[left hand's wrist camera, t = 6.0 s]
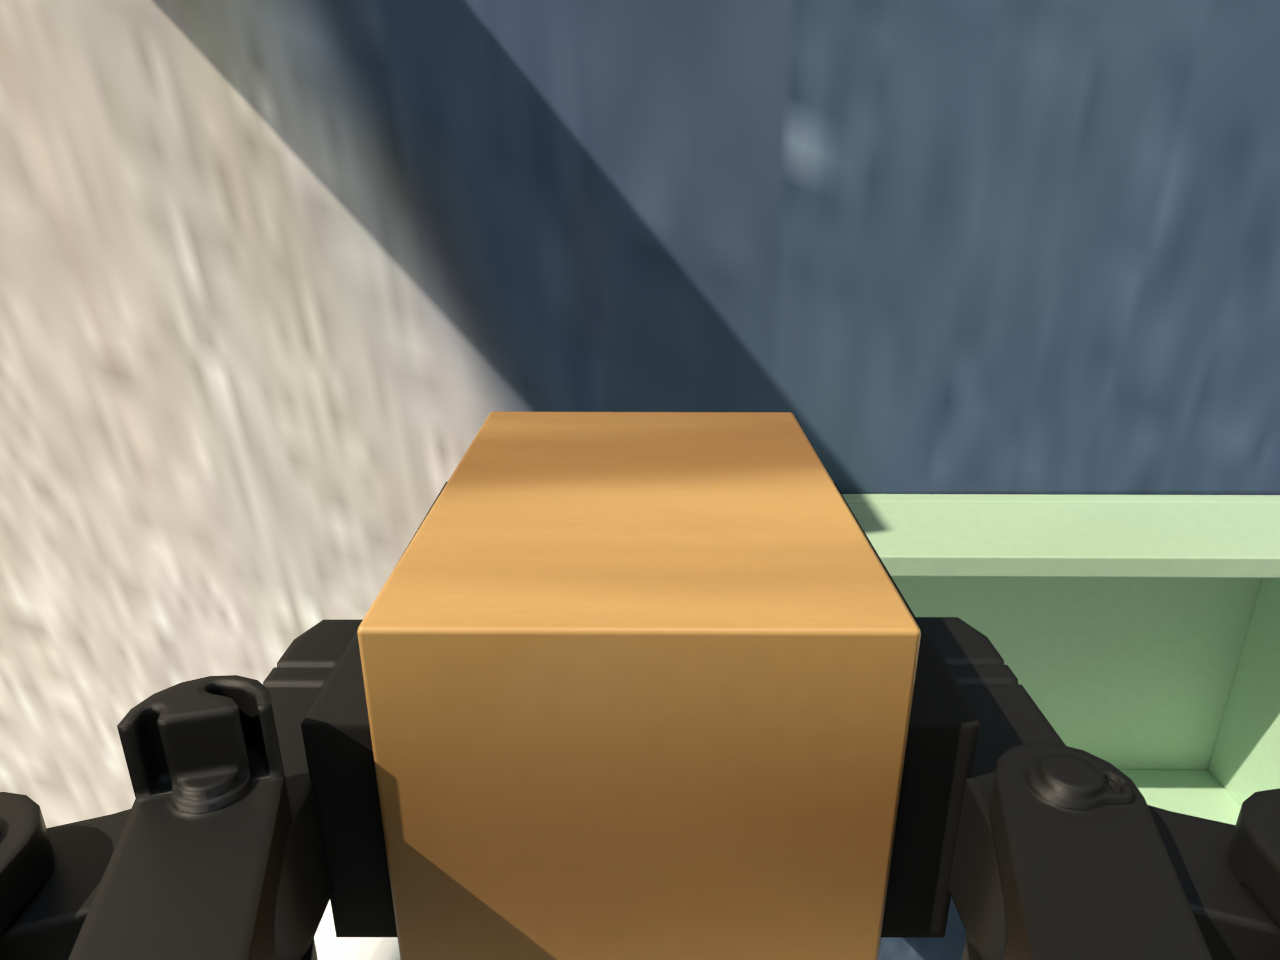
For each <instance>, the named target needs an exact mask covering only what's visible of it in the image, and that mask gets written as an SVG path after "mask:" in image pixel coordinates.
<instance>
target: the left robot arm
mask: <svg viewBox="0 0 1280 960" xmlns="http://www.w3.org/2000/svg"><path fill="white" fill-rule="evenodd" d="M446 484H447V482H446V483H445V485H444V487H445V486H446ZM834 484H835V482H834ZM835 486H836V487H837V485H836V484H835ZM444 487H443V488H442V490H443V489H444ZM837 489H838V487H837ZM442 490H441V492H442ZM838 491H839V493H840V494H841V492H840V490H839V489H838ZM441 492H440V493H439V495H440V494H441ZM439 495H438V497H439ZM841 496H842V498H843V499H844V497H843V495H842V494H841ZM438 497H437V498H436V500H437V499H438ZM436 500H435V502H436ZM844 501H845V503H846V504H847V502H846V500H845V499H844ZM435 502H434V503H433V505H434V504H435ZM433 505H432V507H433ZM847 506H848V508H849V510H850V511H851V513H852V515H853V516H854V518H855V520H856V521H857V523H858V525H859V527H860V528H861V530H862V532H863V533H864V535H865V537H866V538H867V540H868V542H869V543H870V545H871V547H872V549H873V550H874V552H875V554H876V555H877V557H878V559H879V560H880V562H881V564H882V566H883V567H884V569H885V571H886V572H887V574H888V576H889V577H890V579H891V581H892V582H893V584H894V586H895V588H896V589H897V591H898V593H899V594H900V596H901V598H902V599H903V601H904V603H905V605H906V606H907V608H908V610H909V611H910V613H911V615H912V616H913V618H914V620H915V621H916V623H917V625H918V627H919V628H920V631H921V638H920V646H919V653H918V661H917V668H916V676H915V683H914V691H913V698H912V706H911V714H910V721H909V729H908V736H907V744H906V751H905V759H904V766H903V774H902V781H901V789H900V796H899V804H898V812H897V819H896V827H895V834H894V842H893V849H892V857H891V864H890V872H889V879H888V887H887V895H886V902H885V910H884V917H883V925H882V932H881V937H944V936H945V930H946V924H947V918H948V912H949V906H950V900H951V896H952V899H953V901H954V904H955V906H956V908H957V911H958V913H959V915H960V918H961V920H962V923H963V925H964V927H965V930H966V932H967V935H966V940H965V946H964V951H963V957H962V960H1280V789H1279V788H1278V789H1272V790H1265V791H1258V792H1255V793H1254V794H1252V795H1251V796H1250V797H1249V798H1247V799H1246V800H1245V801H1244V802H1243V803H1242V806H1241V809H1240V812H1239V816H1238V819H1237V822H1236V825H1232V824H1228V823H1223V822H1218V821H1214V820H1209V819H1204V818H1200V817H1195V816H1190V815H1186V814H1181V813H1177V812H1172V811H1168V810H1164V809H1161V808H1157V807H1154V806H1150V805H1147V803H1146V800H1145V798H1144V796H1143V795H1142V794H1141V792H1140V791H1139V789H1138V788H1137V787H1136V785H1135V784H1134V782H1133V781H1132V780H1131V779H1130V778H1129V777H1128V776H1126V775H1125V774H1124V773H1123V772H1121V771H1120V770H1119V769H1117V768H1116V767H1115V766H1113V765H1112V764H1111V763H1109V762H1107V761H1105V760H1103V759H1101V758H1099V757H1097V756H1094V755H1092V754H1090V753H1088V752H1086V751H1084V750H1080V749H1076V748H1072V747H1068V746H1066V745H1065V744H1064V742H1063V741H1062V739H1061V738H1060V737H1059V735H1058V734H1057V732H1056V731H1055V730H1054V728H1053V727H1052V726H1051V724H1050V723H1049V721H1048V720H1047V719H1046V717H1045V716H1044V715H1043V713H1042V712H1041V710H1040V709H1039V708H1038V706H1037V705H1036V704H1035V702H1034V701H1033V699H1032V698H1031V697H1030V695H1029V694H1028V692H1027V691H1026V690H1025V688H1024V687H1023V686H1022V684H1018V679H1017V677H1016V676H1015V675H1014V673H1013V672H1012V670H1011V669H1010V668H1009V666H1008V665H1004V659H1003V658H1002V657H1001V655H1000V654H999V652H998V651H997V650H996V648H995V647H994V646H993V644H992V643H991V641H990V640H989V639H988V637H986V636H985V635H984V634H982V633H981V632H979V631H978V630H976V629H975V628H973V627H972V626H970V625H969V624H967V623H966V622H964V621H963V620H961V619H960V618H958V617H915V615H914V613H913V612H912V610H911V608H910V607H909V605H908V603H907V602H906V600H905V599H904V597H903V595H902V594H901V592H900V590H899V589H898V587H897V585H896V584H895V582H894V580H893V579H892V577H891V575H890V574H889V572H888V570H887V569H886V567H885V565H884V564H883V562H882V560H881V559H880V557H879V555H878V554H877V552H876V550H875V549H874V547H873V545H872V544H871V542H870V540H869V539H868V537H867V535H866V534H865V532H864V530H863V529H862V527H861V525H860V524H859V522H858V520H857V519H856V517H855V515H854V514H853V512H852V510H851V509H850V507H849V505H848V504H847ZM432 507H431V508H432ZM431 508H430V510H431ZM430 510H429V512H430ZM429 512H428V513H429ZM428 513H427V515H428ZM427 515H426V517H427ZM426 517H425V518H426ZM425 518H424V520H425ZM424 520H423V521H424ZM422 523H423V522H422ZM422 523H421V525H422ZM421 525H420V526H421ZM419 528H420V527H419ZM419 528H418V530H419ZM418 530H417V531H418ZM416 533H417V532H416ZM416 533H415V534H416ZM414 536H415V535H414ZM413 538H414V537H413ZM413 538H412V539H413ZM411 541H412V540H411ZM410 543H411V542H410ZM410 543H409V544H410ZM408 546H409V545H408ZM406 549H407V548H406ZM405 551H406V550H405ZM403 554H404V553H403ZM402 556H403V555H402ZM400 559H401V558H400ZM397 564H398V563H397ZM394 569H395V568H394ZM362 621H363V620H322V621H321V622H320V623H318V624H317V625H315V626H314V627H312V628H311V629H309V630H308V631H306V632H305V633H303V634H302V635H300V636H299V637H297V638H296V639H294V640H293V642H292V643H291V645H290V646H289V647H288V649H287V650H286V652H285V653H284V654H283V656H282V657H281V658H280V660H279V661H278V663H277V668H273V670H272V671H271V672H270V674H269V675H268V677H267V678H266V679H265V681H264V682H263V685H262V684H261V683H260V682H259V681H258V680H254V679H250V678H245V677H241V676H237V675H234V676H209V677H205V678H200V679H196V680H191V681H187V682H182V683H180V684H177V685H175V686H172V687H170V688H167V689H165V690H163V691H160V692H158V693H155V694H153V695H152V696H150V697H149V698H147V699H146V700H144V701H143V702H141V703H140V704H138V705H137V706H135V707H134V708H132V709H131V710H130V711H129V712H128V714H127V715H126V716H125V717H124V718H123V720H122V721H121V722H120V723H119V724H118V726H117V727H118V731H119V735H120V739H121V743H122V747H123V751H124V754H125V758H126V762H127V766H128V770H129V774H130V778H131V782H132V785H133V789H134V793H135V797H136V799H135V802H134V804H133V807H132V809H129V810H126V811H122V812H119V813H115V814H112V815H107V816H102V817H98V818H93V819H89V820H84V821H79V822H75V823H70V824H65V825H61V826H56V827H52V828H47V829H46V826H45V823H44V819H43V816H42V813H41V810H40V806H39V805H38V804H36V803H35V802H34V801H33V800H31V799H30V798H29V797H28V796H26V795H20V794H13V793H7V792H0V960H318V958H317V951H316V946H315V940H314V936H315V933H316V931H317V929H318V926H319V924H320V921H321V919H322V917H323V914H324V912H325V910H326V907H327V905H328V902H329V900H330V902H331V908H332V914H333V920H334V926H335V932H336V937H397V930H396V922H395V915H394V907H393V899H392V892H391V884H390V877H389V869H388V861H387V854H386V846H385V839H384V831H383V823H382V816H381V808H380V801H379V793H378V785H377V778H376V770H375V763H374V755H373V747H372V740H371V732H370V725H369V717H368V709H367V702H366V694H365V687H364V679H363V671H362V664H361V656H360V649H359V641H358V634H357V630H358V627H359V625H360V624H361V622H362Z"/></svg>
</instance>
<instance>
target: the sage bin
mask: <svg viewBox="0 0 1280 960" xmlns="http://www.w3.org/2000/svg"><path fill="white" fill-rule="evenodd" d="M842 495H843V497H844V499H845V500H846V502H847V504H848V505H849V507H850V509H851V510H852V512H853V514H854V515H855V517H856V519H857V520H858V522H859V524H860V525H861V527H862V529H863V530H864V532H865V534H866V535H867V537H868V539H869V540H870V542H871V544H872V545H873V547H874V549H875V550H876V552H877V554H878V555H879V557H880V559H881V560H882V562H883V564H884V565H885V567H886V569H887V570H888V572H889V574H890V575H891V577H892V579H893V580H894V582H895V584H896V585H897V587H898V589H899V590H900V592H901V594H902V595H903V597H904V599H905V600H906V602H907V603H908V605H909V607H910V608H911V610H912V612H913V613H914V615H915V617H958V618H960V619H961V620H963V621H964V622H966V623H967V624H969V625H970V626H972V627H973V628H975V629H976V630H978V631H979V632H981V633H982V634H984V635H985V636H986V637H988V639H989V640H990V641H991V643H992V644H993V646H994V647H995V648H996V650H997V651H998V652H999V654H1000V655H1001V657H1002V658H1003V659H1004V665H1008V666H1009V668H1010V669H1011V670H1012V672H1013V673H1014V675H1015V676H1016V677H1017V679H1018V684H1022V686H1023V687H1024V688H1025V690H1026V691H1027V692H1028V694H1029V695H1030V697H1031V698H1032V699H1033V701H1034V702H1035V704H1036V705H1037V706H1038V708H1039V709H1040V710H1041V712H1042V713H1043V715H1044V716H1045V717H1046V719H1047V720H1048V721H1049V723H1050V724H1051V726H1052V727H1053V728H1054V730H1055V731H1056V732H1057V734H1058V735H1059V737H1060V738H1061V739H1062V741H1063V742H1064V744H1065V745H1066V746H1068V747H1072V748H1076V749H1080V750H1084V751H1086V752H1088V753H1090V754H1092V755H1094V756H1097V757H1099V758H1101V759H1103V760H1105V761H1107V762H1109V763H1111V764H1112V765H1113V766H1115V767H1116V768H1117V769H1119V770H1120V771H1121V772H1123V773H1124V774H1125V775H1126V776H1128V777H1129V778H1130V779H1131V780H1132V781H1133V782H1134V784H1135V785H1136V787H1137V788H1138V789H1139V791H1140V792H1141V794H1142V795H1143V796H1144V798H1145V800H1146V803H1147V805H1150V806H1154V807H1157V808H1161V809H1164V810H1168V811H1172V812H1177V813H1181V814H1186V815H1190V816H1195V817H1200V818H1204V819H1209V820H1214V821H1218V822H1223V823H1228V824H1232V825H1236V822H1237V819H1238V816H1239V812H1240V809H1241V806H1242V803H1243V802H1244V801H1245V800H1246V799H1247V798H1249V797H1250V796H1251V795H1252V794H1254V793H1255V792H1258V791H1265V790H1272V789H1278V788H1279V789H1280V495H1003V494H842Z"/></svg>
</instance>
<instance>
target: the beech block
mask: <svg viewBox="0 0 1280 960" xmlns="http://www.w3.org/2000/svg"><path fill="white" fill-rule="evenodd" d="M357 634H358V641H359V649H360V656H361V664H362V671H363V679H364V687H365V694H366V702H367V709H368V717H369V725H370V732H371V740H372V747H373V755H374V763H375V770H376V778H377V785H378V793H379V801H380V808H381V816H382V823H383V831H384V839H385V846H386V854H387V861H388V869H389V877H390V884H391V892H392V899H393V907H394V915H395V922H396V930H397V937H398V945H399V952H400V960H878V955H879V947H880V940H881V932H882V925H883V917H884V910H885V902H886V895H887V887H888V879H889V872H890V864H891V857H892V849H893V842H894V834H895V827H896V819H897V812H898V804H899V796H900V789H901V781H902V774H903V766H904V759H905V751H906V744H907V736H908V729H909V721H910V714H911V706H912V698H913V691H914V683H915V676H916V668H917V661H918V653H919V646H920V638H921V631H920V628H919V627H918V625H917V623H916V621H915V620H914V618H913V616H912V615H911V613H910V611H909V610H908V608H907V606H906V605H905V603H904V601H903V599H902V598H901V596H900V594H899V593H898V591H897V589H896V588H895V586H894V584H893V582H892V581H891V579H890V577H889V576H888V574H887V572H886V571H885V569H884V567H883V566H882V564H881V562H880V560H879V559H878V557H877V555H876V554H875V552H874V550H873V549H872V547H871V545H870V543H869V542H868V540H867V538H866V537H865V535H864V533H863V532H862V530H861V528H860V527H859V525H858V523H857V521H856V520H855V518H854V516H853V515H852V513H851V511H850V510H849V508H848V506H847V504H846V503H845V501H844V499H843V498H842V496H841V494H840V493H839V491H838V489H837V487H836V486H835V484H834V482H833V481H832V479H831V477H830V476H829V474H828V472H827V471H826V469H825V467H824V465H823V464H822V462H821V460H820V459H819V457H818V455H817V454H816V452H815V450H814V448H813V447H812V445H811V443H810V442H809V440H808V438H807V437H806V435H805V433H804V432H803V430H802V428H801V426H800V425H799V423H798V421H797V420H796V418H795V416H794V415H793V413H790V412H491V413H490V414H489V416H488V417H487V419H486V421H485V422H484V424H483V425H482V427H481V429H480V430H479V432H478V434H477V435H476V437H475V438H474V440H473V442H472V443H471V445H470V447H469V448H468V450H467V451H466V453H465V455H464V456H463V458H462V460H461V461H460V463H459V464H458V466H457V468H456V469H455V471H454V473H453V474H452V476H451V477H450V479H449V481H448V482H447V484H446V486H445V487H444V489H443V490H442V492H441V494H440V495H439V497H438V499H437V500H436V502H435V504H434V505H433V507H432V508H431V510H430V512H429V513H428V515H427V517H426V518H425V520H424V521H423V523H422V525H421V526H420V528H419V530H418V531H417V533H416V534H415V536H414V538H413V539H412V541H411V543H410V544H409V546H408V547H407V549H406V551H405V552H404V554H403V556H402V557H401V559H400V560H399V562H398V564H397V565H396V567H395V569H394V570H393V572H392V573H391V575H390V577H389V578H388V580H387V582H386V583H385V585H384V586H383V588H382V590H381V591H380V593H379V595H378V596H377V598H376V599H375V601H374V603H373V604H372V606H371V608H370V609H369V611H368V612H367V614H366V616H365V617H364V619H363V621H362V622H361V624H360V625H359V627H358V630H357Z"/></svg>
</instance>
